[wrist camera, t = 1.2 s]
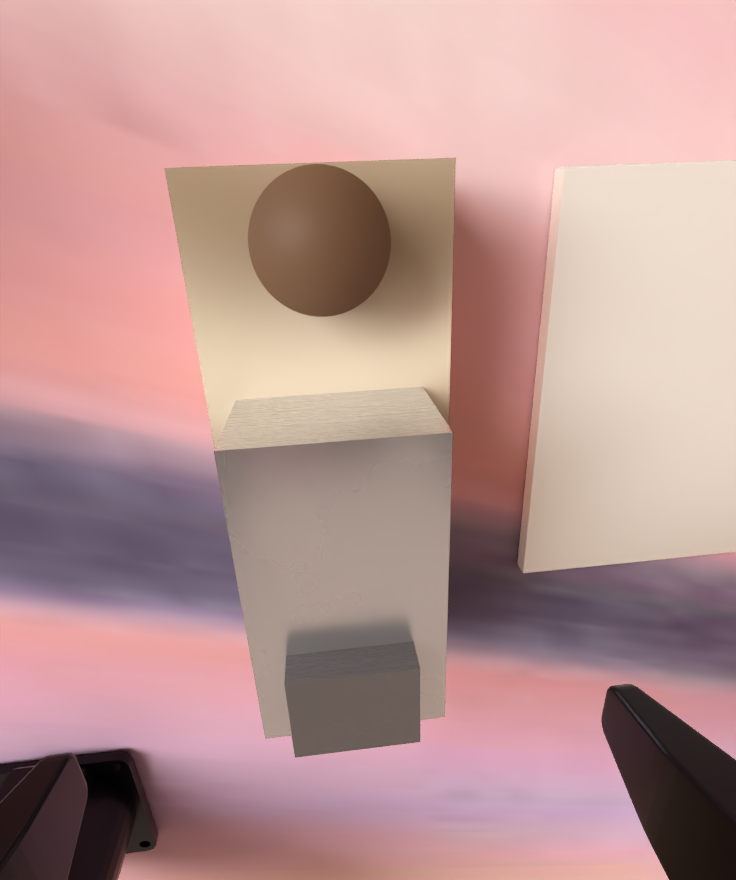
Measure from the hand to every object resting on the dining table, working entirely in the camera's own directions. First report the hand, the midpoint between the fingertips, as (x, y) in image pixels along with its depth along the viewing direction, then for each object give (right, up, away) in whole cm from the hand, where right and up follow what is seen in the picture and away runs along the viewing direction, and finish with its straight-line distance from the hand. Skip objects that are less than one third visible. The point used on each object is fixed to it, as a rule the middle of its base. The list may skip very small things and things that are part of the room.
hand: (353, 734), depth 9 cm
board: (+11, +7, +9) cm, 16 cm away
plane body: (-1, +5, +9) cm, 10 cm away
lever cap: (0, +2, +6) cm, 6 cm away
